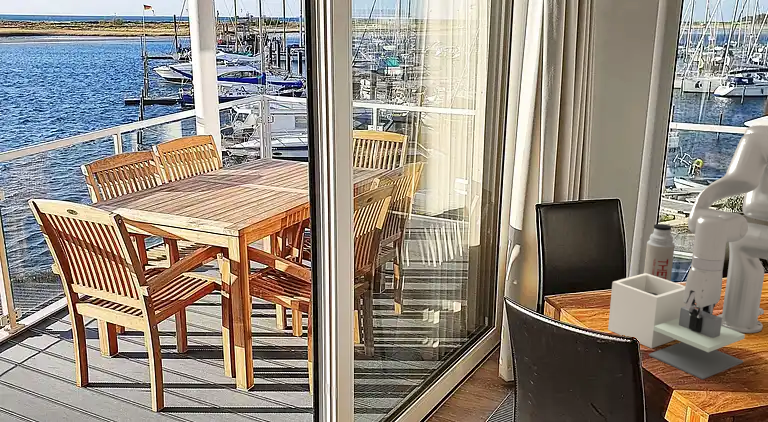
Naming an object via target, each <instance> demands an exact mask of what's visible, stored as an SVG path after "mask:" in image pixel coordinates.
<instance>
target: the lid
mask: <svg viewBox="0 0 768 422" xmlns="http://www.w3.org/2000/svg"><path fill="white" fill-rule="evenodd" d="M685 307H686V306H685ZM685 307H681V310H680V318H678V319H675V320H671V321H668V322H665V323H662V324H659V325H656V326H654V331H656V332H659V333H661V334H664V335H666V336H669V337H671V338H674V339H676V340H677V341H679V342H684V343H686V344H689V345H691V346H694V347H696V348H699V349H701V350H703V351H706V352H711V351H713V350H719V349H721V348H724V347H726V346H729V345H731V344H734V343H736V342H739V341H742V340H745V336H746V334H745V333H743V332H737V331H734V330H731V329H728V328H726V327H723V326H721V323H722V318H721V317H718V315H716V314H710V313H707V312H704V311H702V315H701V318H703V320H702V327H701V332H696V331H693V330H691V329H689V322H690V315H689V311H687V310H685ZM695 309H696V310H697V311H698V309H697V308H695ZM676 340H675V341H676Z"/></svg>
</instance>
